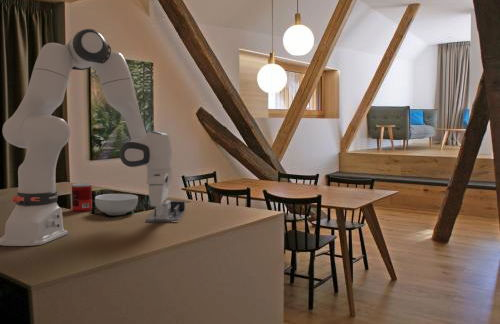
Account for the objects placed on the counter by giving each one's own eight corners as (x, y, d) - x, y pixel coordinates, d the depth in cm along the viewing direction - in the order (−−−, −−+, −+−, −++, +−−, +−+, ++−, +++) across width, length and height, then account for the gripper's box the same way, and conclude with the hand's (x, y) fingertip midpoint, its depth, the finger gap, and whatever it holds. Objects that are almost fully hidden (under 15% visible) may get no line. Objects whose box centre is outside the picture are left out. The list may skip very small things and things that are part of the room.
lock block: (167, 219, 174) (167, 201, 174) (156, 219, 174) (155, 201, 174) (170, 215, 181) (170, 198, 181) (159, 215, 181) (159, 198, 181)
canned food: (95, 208, 199) (94, 183, 198) (86, 212, 191) (86, 185, 190) (77, 208, 199) (77, 182, 198) (68, 211, 191) (68, 185, 191)
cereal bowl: (122, 219, 179) (122, 200, 178) (86, 215, 184) (85, 198, 183) (145, 211, 195) (145, 194, 194) (112, 208, 200) (111, 192, 199)
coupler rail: (178, 222, 174) (178, 210, 173) (145, 222, 174) (145, 210, 173) (185, 211, 196) (185, 200, 195) (156, 211, 196) (156, 200, 195)
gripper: (155, 172, 178) (156, 208, 180) (145, 180, 158) (146, 220, 159) (172, 172, 179) (172, 208, 180) (164, 180, 158) (164, 220, 160)
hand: (160, 214), depth 169 cm, fingers closed
